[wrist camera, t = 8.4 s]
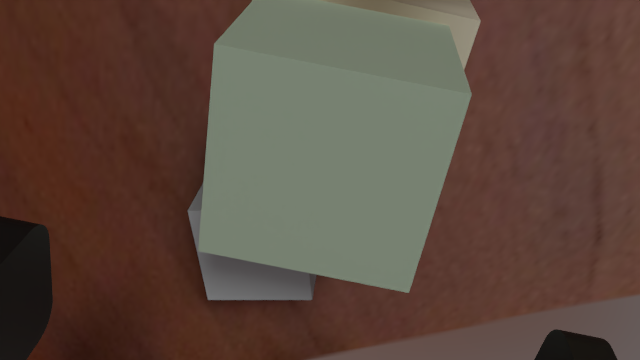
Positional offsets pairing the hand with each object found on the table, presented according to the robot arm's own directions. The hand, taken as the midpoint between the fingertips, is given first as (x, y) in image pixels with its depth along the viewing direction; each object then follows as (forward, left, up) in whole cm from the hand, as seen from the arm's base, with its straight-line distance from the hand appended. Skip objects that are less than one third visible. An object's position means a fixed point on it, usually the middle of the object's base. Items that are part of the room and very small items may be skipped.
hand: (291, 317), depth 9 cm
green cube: (0, 0, -9) cm, 9 cm away
